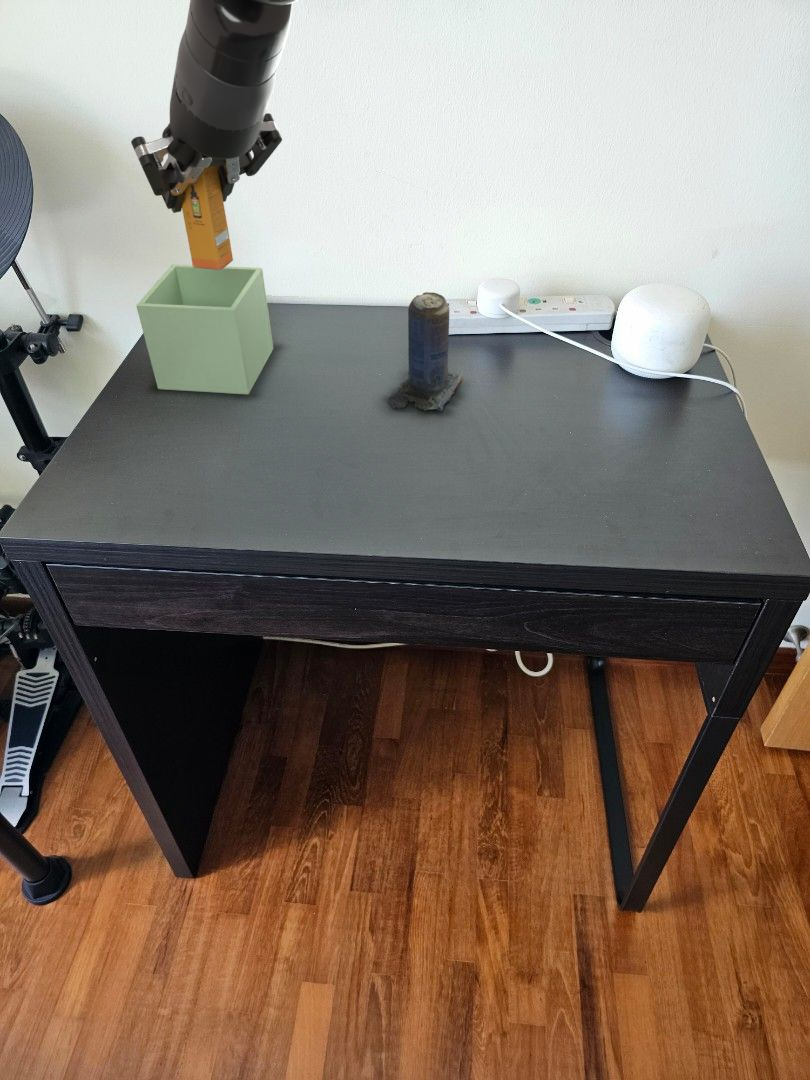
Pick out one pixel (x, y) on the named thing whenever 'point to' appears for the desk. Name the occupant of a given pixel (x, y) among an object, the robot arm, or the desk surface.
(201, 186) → the supplement box
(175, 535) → the desk surface
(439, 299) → the beverage can
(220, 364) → the trash bin
